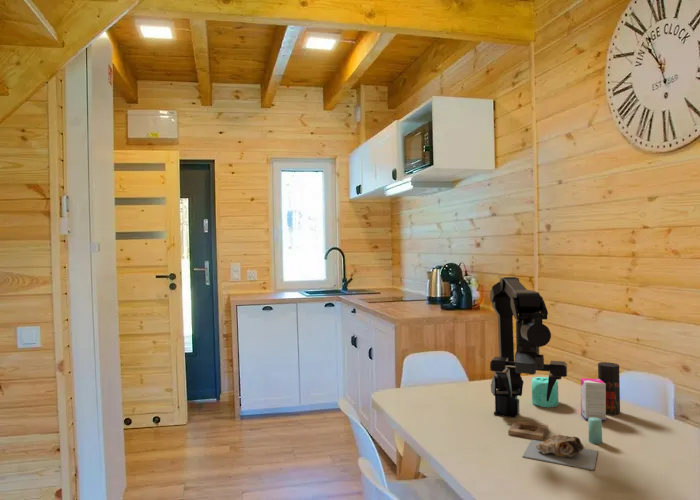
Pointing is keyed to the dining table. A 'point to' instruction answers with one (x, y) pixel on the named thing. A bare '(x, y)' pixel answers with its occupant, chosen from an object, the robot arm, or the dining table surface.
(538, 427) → the brown square frame
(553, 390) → the decorative dice
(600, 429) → the peg
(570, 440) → the rock
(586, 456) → the card
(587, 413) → the supplement box
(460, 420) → the dining table surface
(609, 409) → the deodorant
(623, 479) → the dining table surface
